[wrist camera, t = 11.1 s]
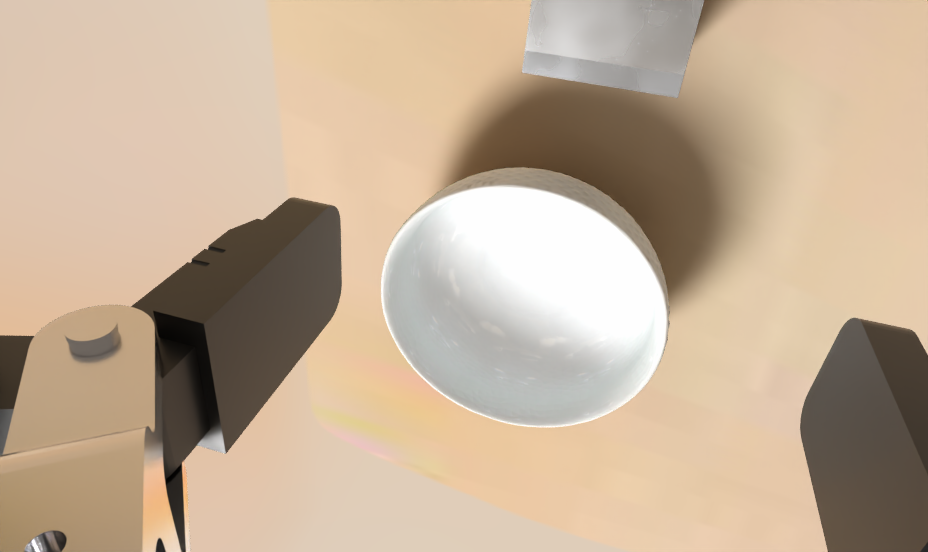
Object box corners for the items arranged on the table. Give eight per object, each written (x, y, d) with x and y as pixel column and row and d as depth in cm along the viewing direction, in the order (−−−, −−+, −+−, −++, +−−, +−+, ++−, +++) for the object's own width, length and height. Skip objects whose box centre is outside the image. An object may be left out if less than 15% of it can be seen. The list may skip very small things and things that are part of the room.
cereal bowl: (695, 158, 36) (700, 210, 31) (645, 380, 45) (641, 454, 39) (413, 125, 40) (369, 166, 34) (418, 337, 49) (383, 398, 43)
